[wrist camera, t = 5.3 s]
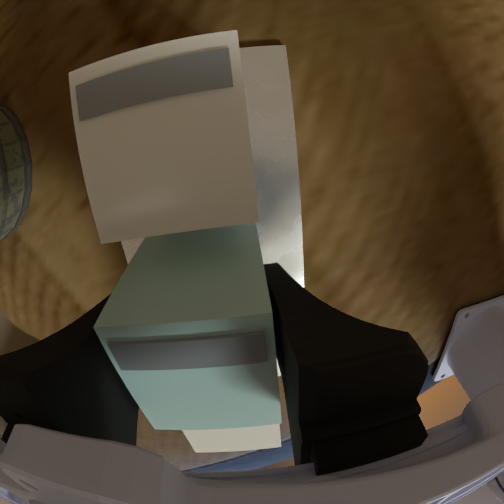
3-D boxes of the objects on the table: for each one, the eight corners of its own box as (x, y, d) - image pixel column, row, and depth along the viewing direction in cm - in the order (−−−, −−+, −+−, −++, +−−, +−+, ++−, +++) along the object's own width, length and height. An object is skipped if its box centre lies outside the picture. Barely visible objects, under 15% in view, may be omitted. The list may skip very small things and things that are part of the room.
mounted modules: (236, 64, 10) (236, 28, 5) (272, 378, 17) (281, 448, 13) (128, 85, 10) (66, 72, 5) (200, 385, 17) (195, 454, 13)
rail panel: (284, 46, 11) (289, 39, 10) (303, 368, 19) (307, 383, 18) (93, 82, 11) (80, 79, 10) (174, 380, 19) (171, 395, 18)
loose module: (255, 218, 12) (272, 315, 7) (265, 316, 14) (282, 425, 9) (147, 233, 12) (91, 330, 7) (175, 325, 14) (154, 431, 9)
